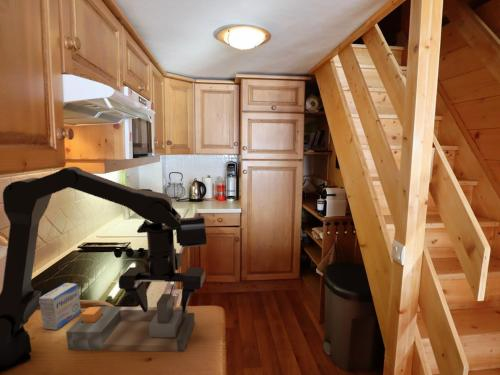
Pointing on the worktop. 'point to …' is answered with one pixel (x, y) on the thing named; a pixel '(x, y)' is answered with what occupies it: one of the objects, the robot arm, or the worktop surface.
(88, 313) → the button
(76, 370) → the worktop surface
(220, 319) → the worktop surface
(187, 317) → the rail
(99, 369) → the worktop surface
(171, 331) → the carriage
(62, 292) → the medicine box
